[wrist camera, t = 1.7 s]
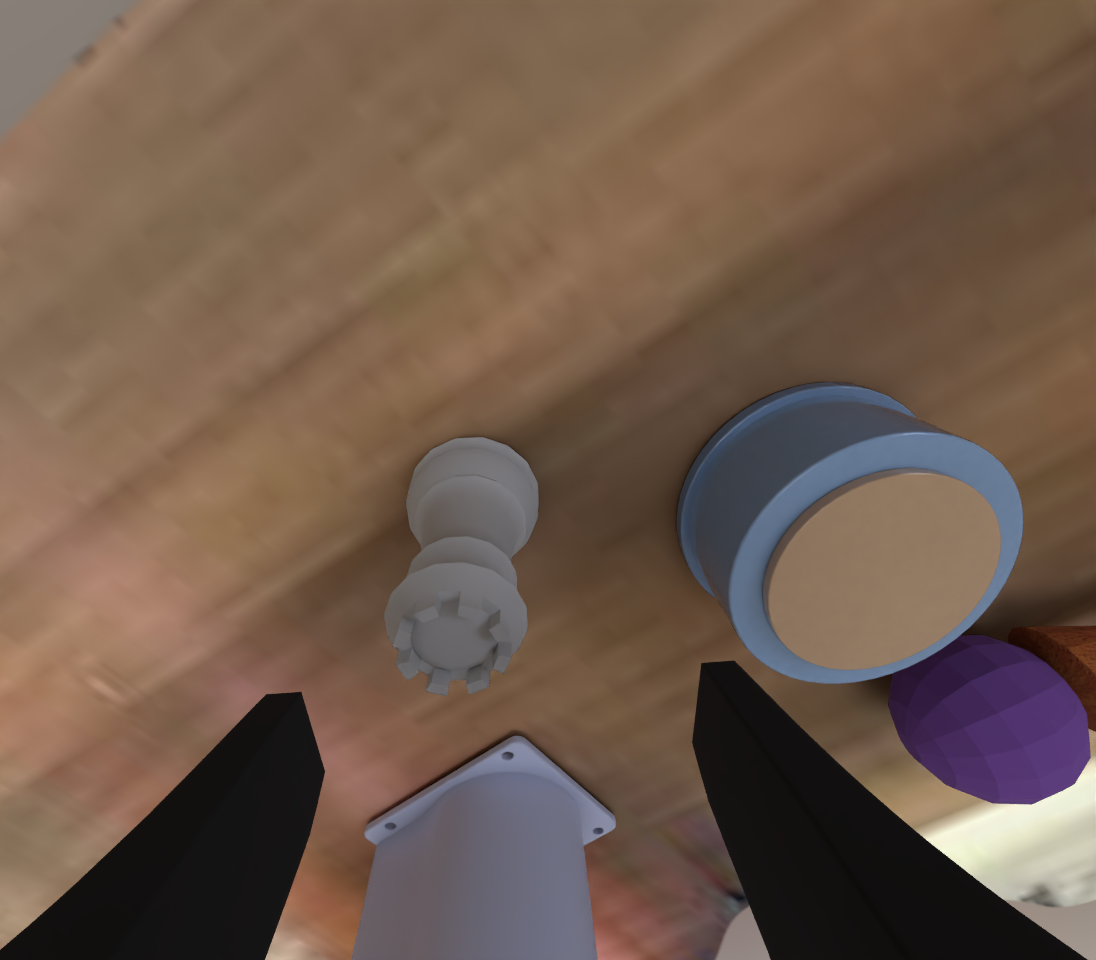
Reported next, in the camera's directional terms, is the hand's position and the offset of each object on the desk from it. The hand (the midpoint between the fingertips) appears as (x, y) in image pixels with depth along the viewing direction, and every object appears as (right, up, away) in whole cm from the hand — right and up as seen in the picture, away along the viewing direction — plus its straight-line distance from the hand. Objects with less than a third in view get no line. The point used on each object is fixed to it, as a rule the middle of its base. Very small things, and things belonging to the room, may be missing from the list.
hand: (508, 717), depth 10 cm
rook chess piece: (-2, +4, +9) cm, 10 cm away
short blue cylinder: (+10, +3, +10) cm, 15 cm away
